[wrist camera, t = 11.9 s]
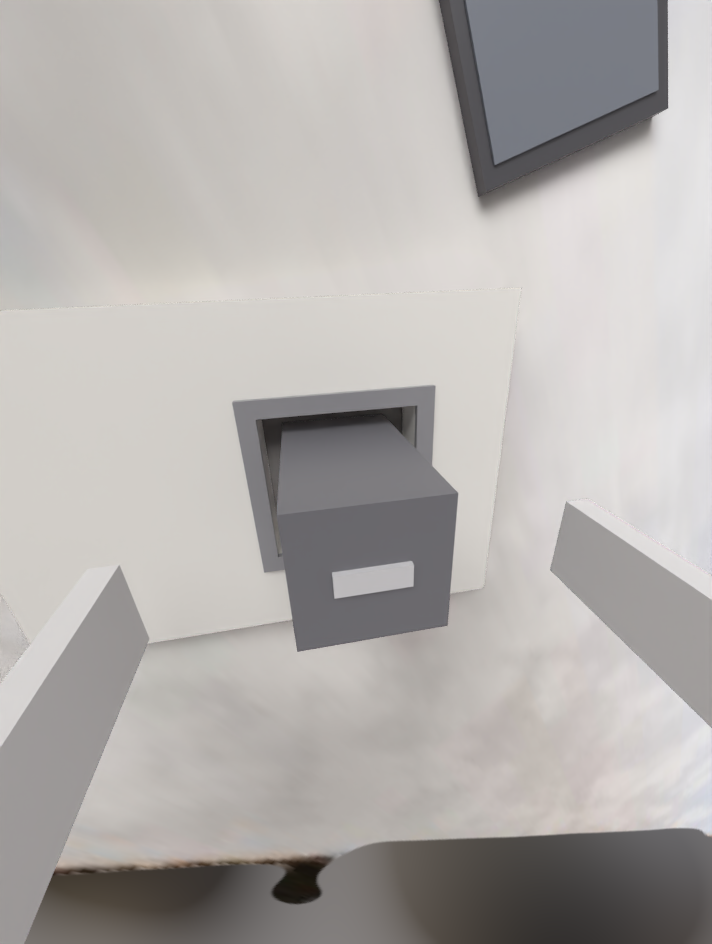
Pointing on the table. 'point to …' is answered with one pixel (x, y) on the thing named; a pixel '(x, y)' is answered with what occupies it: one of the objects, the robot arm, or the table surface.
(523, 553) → the table surface
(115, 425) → the outlet plate
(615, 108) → the phone
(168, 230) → the table surface
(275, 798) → the table surface
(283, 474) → the grey rectangular block
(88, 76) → the table surface
